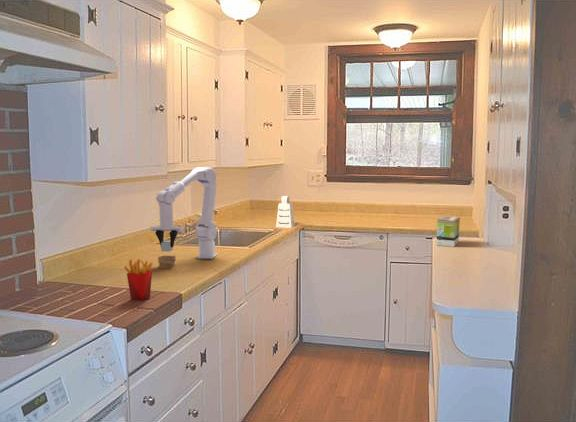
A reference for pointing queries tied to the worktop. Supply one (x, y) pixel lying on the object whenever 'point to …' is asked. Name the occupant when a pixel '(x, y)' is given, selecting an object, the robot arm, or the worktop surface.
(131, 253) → the worktop surface
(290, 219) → the grater
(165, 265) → the slab base
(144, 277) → the french fries
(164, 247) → the gray cube
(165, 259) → the slab top
